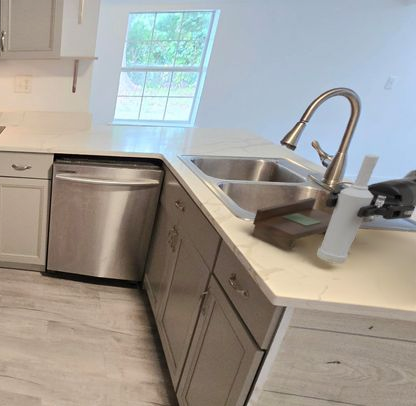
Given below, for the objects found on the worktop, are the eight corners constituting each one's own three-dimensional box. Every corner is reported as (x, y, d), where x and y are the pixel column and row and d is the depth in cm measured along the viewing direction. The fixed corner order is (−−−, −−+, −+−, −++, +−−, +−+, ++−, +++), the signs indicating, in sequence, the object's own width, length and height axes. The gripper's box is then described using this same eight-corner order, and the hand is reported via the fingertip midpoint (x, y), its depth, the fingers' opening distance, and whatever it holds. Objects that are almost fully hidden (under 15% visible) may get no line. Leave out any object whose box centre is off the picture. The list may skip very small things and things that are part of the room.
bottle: (352, 263, 84) (397, 158, 74) (331, 264, 84) (374, 160, 74) (330, 251, 89) (370, 152, 79) (310, 253, 88) (348, 153, 79)
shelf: (342, 236, 100) (353, 210, 97) (287, 252, 94) (297, 224, 91) (302, 222, 109) (311, 197, 106) (249, 234, 103) (257, 209, 100)
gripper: (359, 172, 90) (312, 181, 85) (443, 191, 77) (394, 204, 72) (348, 200, 93) (302, 211, 88) (427, 223, 80) (379, 237, 75)
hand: (344, 207), depth 80 cm, fingers closed on bottle, 5 cm apart
